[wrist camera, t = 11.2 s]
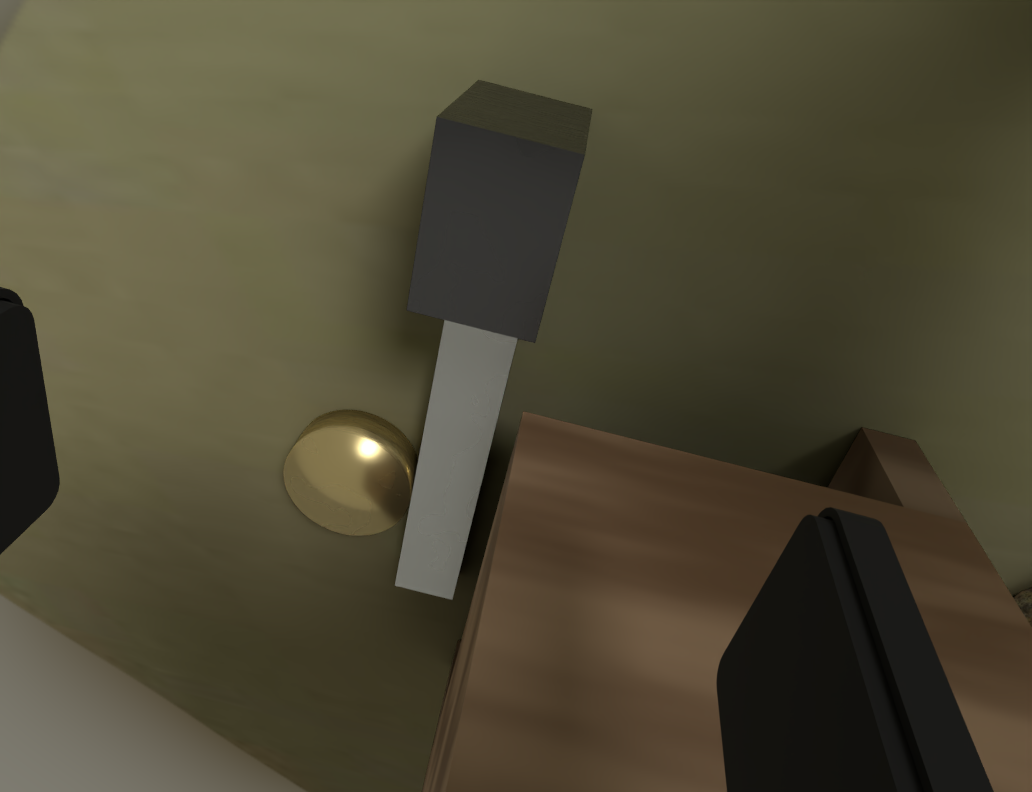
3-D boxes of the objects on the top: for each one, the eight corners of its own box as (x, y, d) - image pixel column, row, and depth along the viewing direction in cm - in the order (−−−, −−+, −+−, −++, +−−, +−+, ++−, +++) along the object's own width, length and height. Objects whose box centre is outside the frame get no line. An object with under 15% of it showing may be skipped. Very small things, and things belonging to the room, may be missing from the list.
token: (300, 396, 29) (282, 420, 27) (425, 420, 29) (414, 446, 27) (300, 494, 31) (283, 522, 30) (415, 517, 31) (404, 546, 30)
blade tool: (478, 79, 22) (436, 116, 17) (592, 109, 22) (584, 154, 17) (392, 558, 32) (350, 670, 27) (469, 577, 32) (442, 693, 27)
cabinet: (536, 345, 26) (425, 891, 11) (915, 440, 26) (1333, 1110, 11) (450, 667, 36) (325, 1206, 20) (731, 736, 36) (818, 1323, 20)
